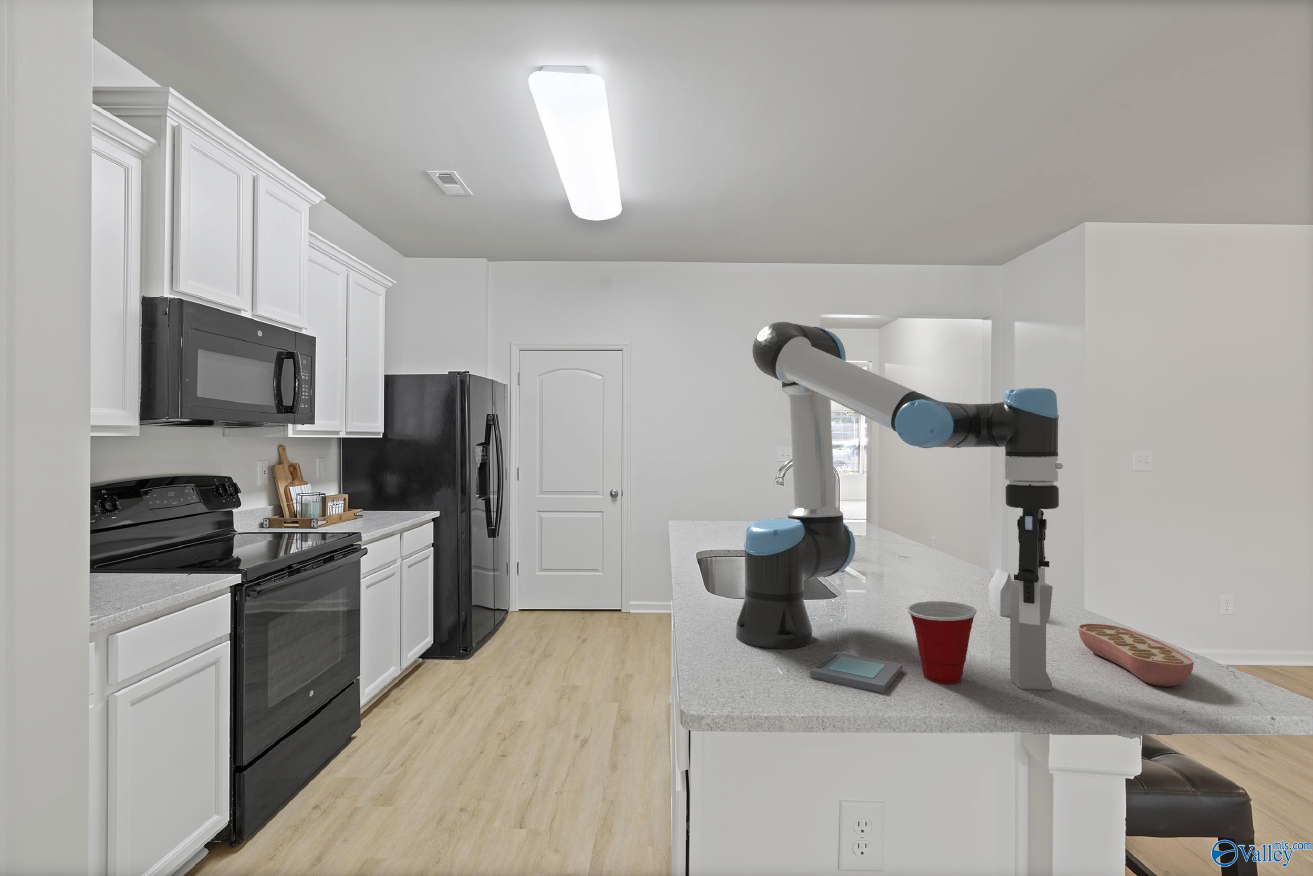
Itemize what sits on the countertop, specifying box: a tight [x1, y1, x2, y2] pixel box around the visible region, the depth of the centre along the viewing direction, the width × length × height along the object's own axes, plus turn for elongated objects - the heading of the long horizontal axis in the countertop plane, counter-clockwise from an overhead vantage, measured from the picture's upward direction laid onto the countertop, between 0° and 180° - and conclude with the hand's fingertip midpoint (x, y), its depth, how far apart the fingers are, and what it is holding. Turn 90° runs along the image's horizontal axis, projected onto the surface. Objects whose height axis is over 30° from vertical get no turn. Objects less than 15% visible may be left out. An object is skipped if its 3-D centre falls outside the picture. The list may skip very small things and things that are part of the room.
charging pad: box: [809, 651, 903, 694], centre depth 111 cm, size 12×12×1 cm
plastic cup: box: [906, 600, 978, 685], centre depth 109 cm, size 11×11×12 cm
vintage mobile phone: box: [1009, 580, 1054, 691], centre depth 106 cm, size 4×5×25 cm
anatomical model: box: [1077, 623, 1195, 688], centre depth 114 cm, size 23×10×5 cm, turn 175°
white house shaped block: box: [988, 567, 1013, 617], centre depth 150 cm, size 4×7×10 cm, turn 173°
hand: (1032, 614), depth 106 cm, fingers open, 13 cm apart
